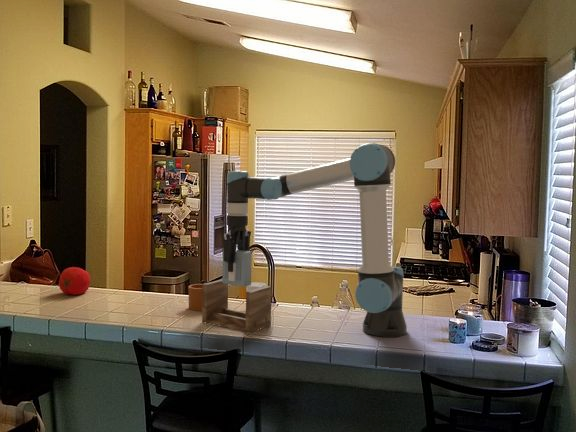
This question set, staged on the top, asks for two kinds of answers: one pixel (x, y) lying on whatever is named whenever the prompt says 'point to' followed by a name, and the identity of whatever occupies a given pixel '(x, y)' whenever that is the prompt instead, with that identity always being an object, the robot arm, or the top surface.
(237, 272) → the gray rectangular block
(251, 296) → the wooden frame
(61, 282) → the tomato
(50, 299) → the top surface
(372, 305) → the robot arm
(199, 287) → the mug
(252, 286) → the white cup
